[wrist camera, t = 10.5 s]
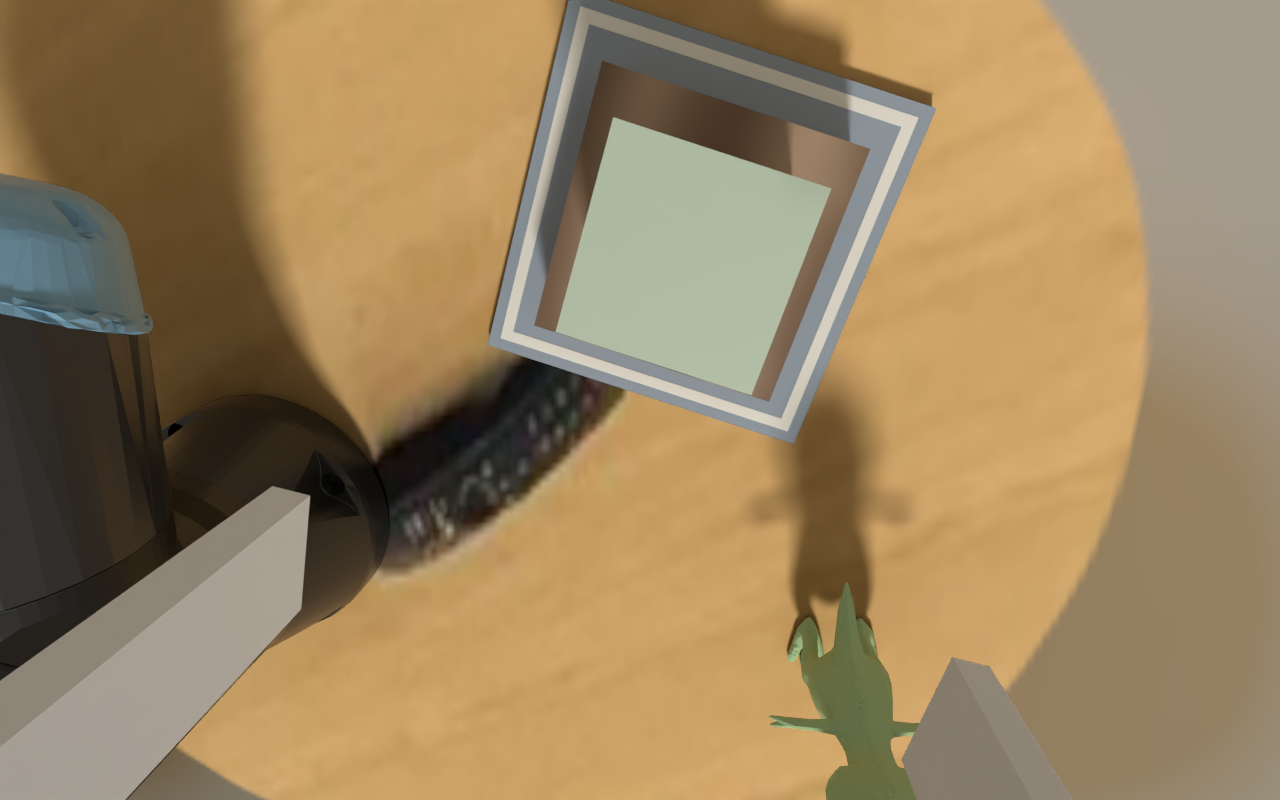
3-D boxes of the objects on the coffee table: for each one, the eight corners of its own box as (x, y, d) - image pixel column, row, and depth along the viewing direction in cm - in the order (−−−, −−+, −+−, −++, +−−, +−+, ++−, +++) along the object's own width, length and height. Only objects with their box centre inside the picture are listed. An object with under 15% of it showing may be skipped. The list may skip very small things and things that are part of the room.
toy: (823, 697, 42) (890, 960, 28) (745, 620, 41) (774, 855, 26) (914, 640, 40) (1037, 891, 26) (836, 557, 39) (920, 773, 24)
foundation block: (552, 310, 35) (534, 325, 31) (614, 76, 31) (602, 60, 27) (761, 378, 35) (769, 401, 31) (850, 153, 31) (870, 148, 27)
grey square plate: (491, 342, 36) (487, 344, 36) (574, -9, 31) (571, -13, 30) (792, 440, 37) (793, 444, 36) (931, 109, 31) (936, 108, 30)
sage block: (597, 291, 30) (555, 331, 22) (640, 139, 28) (613, 117, 20) (737, 337, 30) (751, 395, 22) (792, 188, 28) (831, 188, 20)
